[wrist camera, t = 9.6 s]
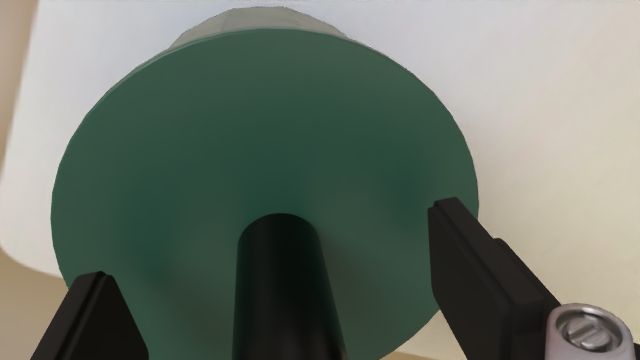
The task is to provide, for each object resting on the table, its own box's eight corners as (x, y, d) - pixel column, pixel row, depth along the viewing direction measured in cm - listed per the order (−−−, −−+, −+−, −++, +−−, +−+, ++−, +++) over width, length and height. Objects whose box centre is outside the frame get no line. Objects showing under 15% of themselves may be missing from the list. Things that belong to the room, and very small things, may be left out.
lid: (41, 334, 15) (-122, 623, 8) (107, -59, 10) (-139, -90, 4) (372, 385, 18) (439, 620, 12) (533, 107, 13) (788, 241, 7)
